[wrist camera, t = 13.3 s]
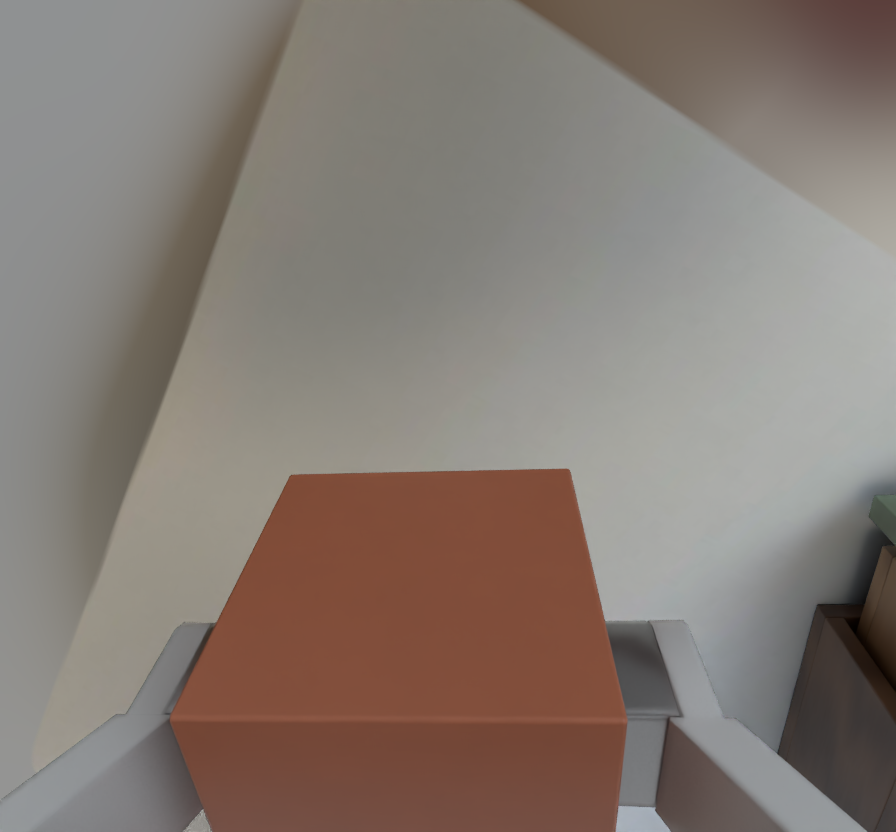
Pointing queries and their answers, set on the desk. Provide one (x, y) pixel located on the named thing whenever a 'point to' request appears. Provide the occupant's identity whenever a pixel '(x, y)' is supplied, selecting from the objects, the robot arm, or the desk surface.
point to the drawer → (882, 595)
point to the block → (410, 664)
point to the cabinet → (844, 721)
